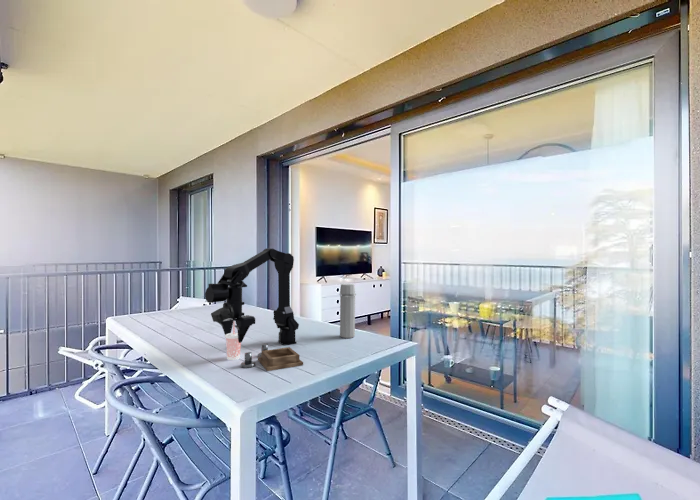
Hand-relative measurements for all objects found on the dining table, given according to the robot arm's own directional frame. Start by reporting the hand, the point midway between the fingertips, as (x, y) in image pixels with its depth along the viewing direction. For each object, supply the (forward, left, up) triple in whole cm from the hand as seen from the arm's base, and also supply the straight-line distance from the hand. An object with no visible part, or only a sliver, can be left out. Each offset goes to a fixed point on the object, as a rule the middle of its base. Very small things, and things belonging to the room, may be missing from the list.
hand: (233, 340), depth 128 cm
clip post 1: (-3, +11, -7) cm, 13 cm away
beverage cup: (0, 0, -7) cm, 7 cm away
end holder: (-14, +13, -7) cm, 20 cm away
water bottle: (-53, -7, -7) cm, 54 cm away
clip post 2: (-11, +3, -7) cm, 13 cm away
